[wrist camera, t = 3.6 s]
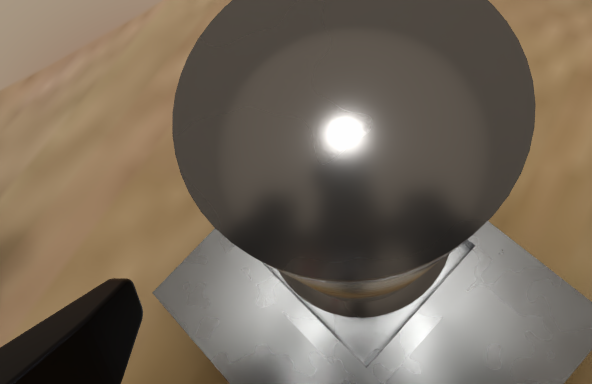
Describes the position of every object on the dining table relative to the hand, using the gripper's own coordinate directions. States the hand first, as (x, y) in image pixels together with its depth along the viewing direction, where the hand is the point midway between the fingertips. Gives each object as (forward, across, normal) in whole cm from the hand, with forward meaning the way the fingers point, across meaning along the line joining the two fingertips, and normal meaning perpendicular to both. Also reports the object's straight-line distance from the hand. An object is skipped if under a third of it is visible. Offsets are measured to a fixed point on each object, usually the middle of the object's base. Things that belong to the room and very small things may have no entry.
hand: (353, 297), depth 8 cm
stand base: (+8, 0, +8) cm, 11 cm away
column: (+8, 0, +5) cm, 10 cm away
